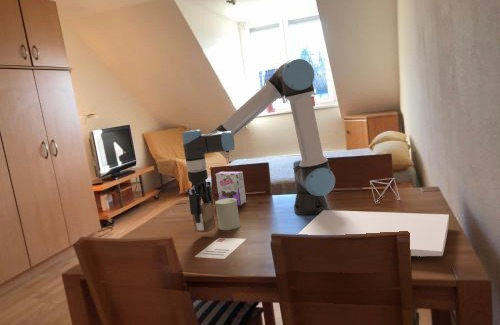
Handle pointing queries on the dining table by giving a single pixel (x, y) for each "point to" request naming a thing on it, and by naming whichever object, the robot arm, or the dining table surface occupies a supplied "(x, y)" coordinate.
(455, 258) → the dining table surface
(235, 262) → the dining table surface
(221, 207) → the can
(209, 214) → the block
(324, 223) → the board
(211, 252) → the letter
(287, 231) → the dining table surface
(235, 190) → the candy box
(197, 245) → the dining table surface
